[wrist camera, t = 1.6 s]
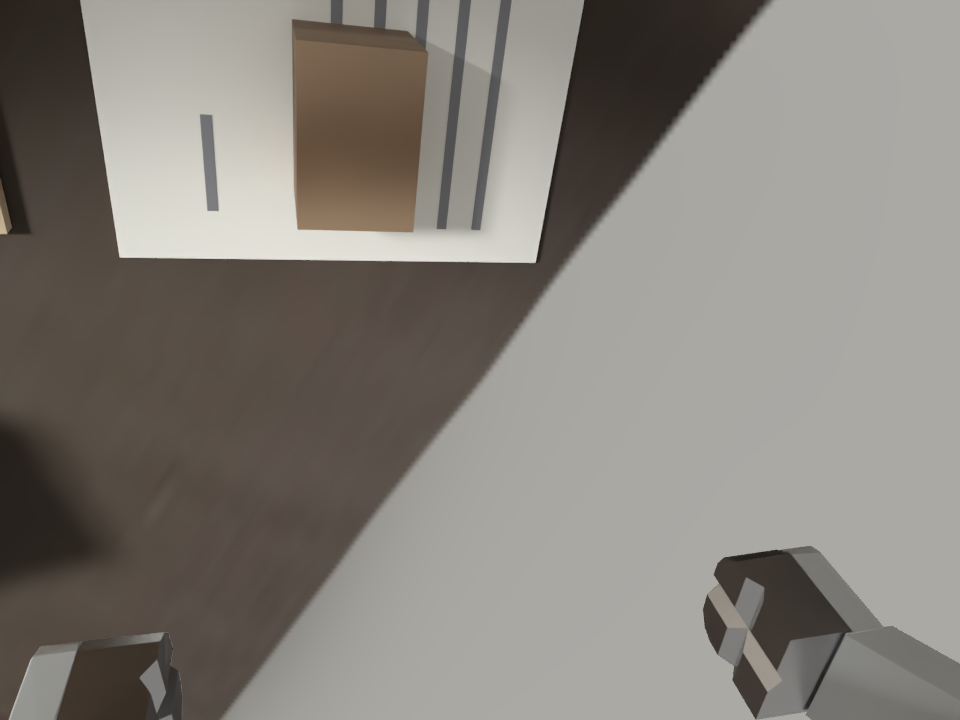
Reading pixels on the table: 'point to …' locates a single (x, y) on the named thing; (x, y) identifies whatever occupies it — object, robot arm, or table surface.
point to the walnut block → (356, 126)
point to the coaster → (4, 214)
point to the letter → (269, 125)
